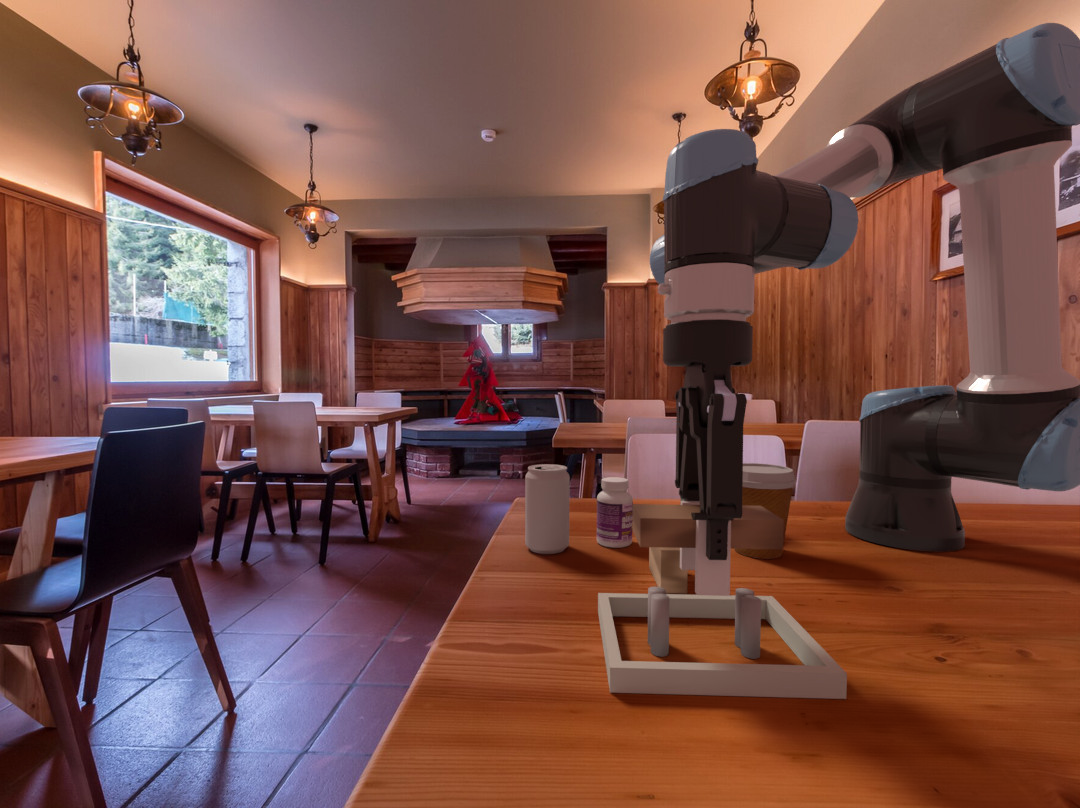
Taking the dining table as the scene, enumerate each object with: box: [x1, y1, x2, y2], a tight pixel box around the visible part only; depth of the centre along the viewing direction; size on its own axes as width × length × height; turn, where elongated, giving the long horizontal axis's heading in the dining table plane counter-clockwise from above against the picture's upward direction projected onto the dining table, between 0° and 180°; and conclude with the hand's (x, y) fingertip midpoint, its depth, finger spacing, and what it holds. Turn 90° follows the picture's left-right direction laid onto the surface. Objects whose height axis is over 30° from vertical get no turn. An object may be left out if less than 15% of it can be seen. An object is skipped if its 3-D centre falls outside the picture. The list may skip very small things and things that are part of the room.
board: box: [632, 503, 784, 550], centre depth 46 cm, size 12×5×2 cm, turn 87°
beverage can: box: [524, 463, 571, 555], centre depth 74 cm, size 6×6×12 cm
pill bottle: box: [596, 476, 634, 549], centre depth 76 cm, size 5×5×10 cm
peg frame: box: [597, 585, 848, 700], centre depth 46 cm, size 18×14×5 cm
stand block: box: [648, 547, 689, 595], centre depth 62 cm, size 3×8×5 cm, turn 177°
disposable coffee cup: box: [733, 462, 798, 560], centre depth 72 cm, size 10×10×12 cm
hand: (702, 579), depth 46 cm, fingers closed on board, 5 cm apart
